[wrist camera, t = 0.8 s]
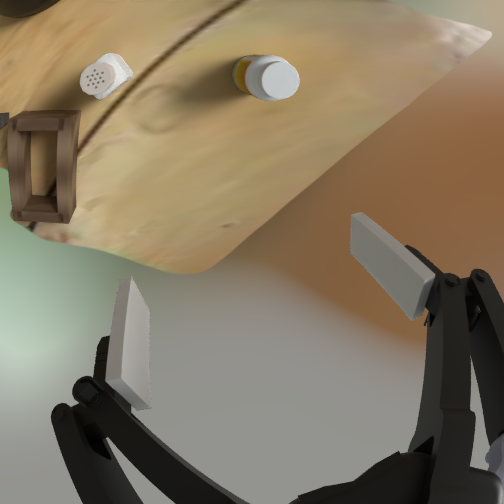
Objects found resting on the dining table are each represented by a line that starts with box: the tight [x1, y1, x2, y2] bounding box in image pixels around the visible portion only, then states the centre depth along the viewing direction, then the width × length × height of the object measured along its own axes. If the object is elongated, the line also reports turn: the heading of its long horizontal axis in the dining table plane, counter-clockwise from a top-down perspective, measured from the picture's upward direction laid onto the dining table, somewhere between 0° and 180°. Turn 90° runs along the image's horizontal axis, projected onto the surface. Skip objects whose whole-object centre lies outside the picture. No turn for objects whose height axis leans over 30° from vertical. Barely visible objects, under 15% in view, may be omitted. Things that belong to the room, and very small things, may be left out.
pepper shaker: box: [80, 53, 133, 100], centre depth 22 cm, size 4×4×10 cm
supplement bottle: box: [233, 55, 299, 101], centre depth 27 cm, size 5×5×10 cm
